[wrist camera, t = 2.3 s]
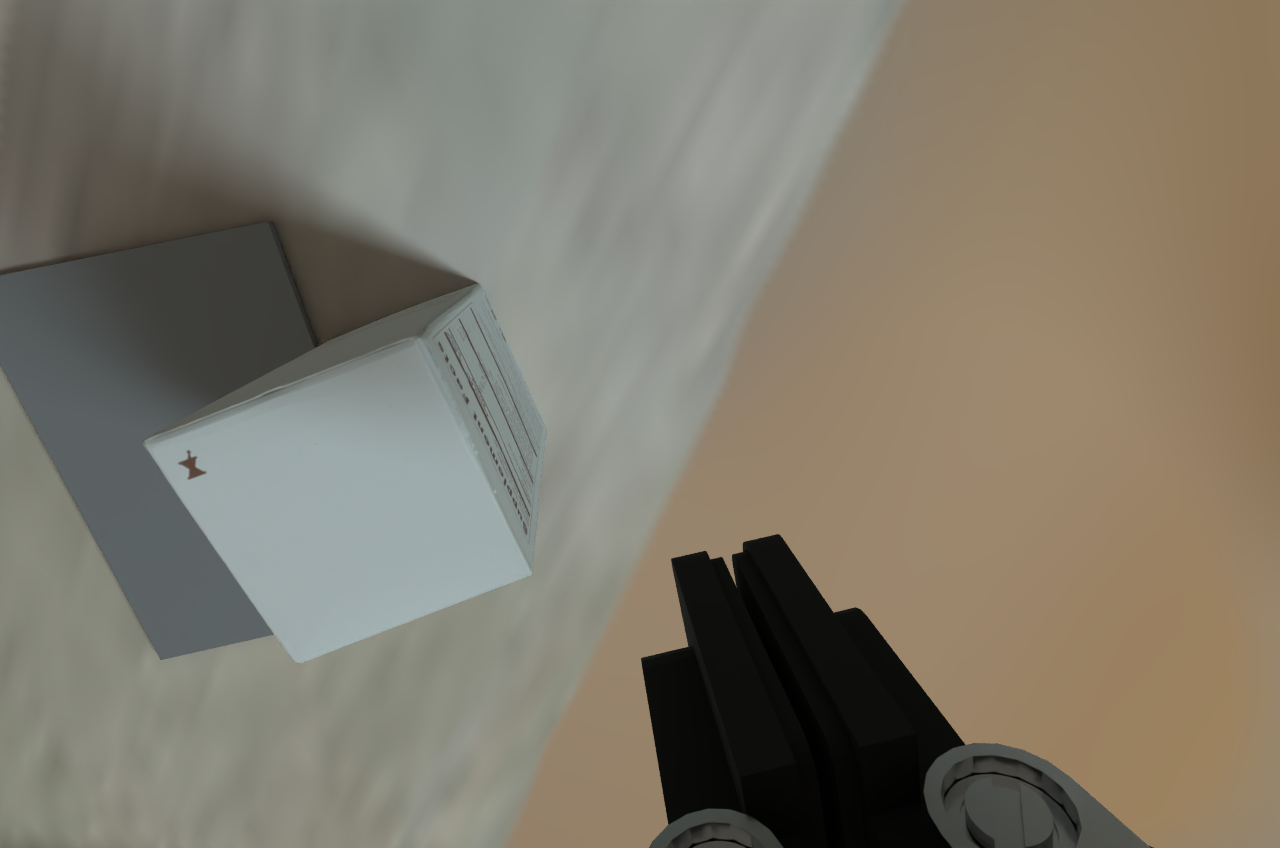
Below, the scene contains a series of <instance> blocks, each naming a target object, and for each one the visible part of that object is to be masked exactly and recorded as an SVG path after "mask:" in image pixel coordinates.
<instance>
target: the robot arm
mask: <svg viewBox="0 0 1280 848" xmlns="http://www.w3.org/2000/svg"><path fill="white" fill-rule="evenodd" d="M671 561H672V567H673V573H674V578H675V582H676V587H677V592H678V597H679V602H680V607H681V612H682V617H683V621H684V626H685V632H686V636H687V641H688V646H689V647H686V648H682V649H677V650H673V651H669V652H665V653H660V654H656V655H652V656H648V657H644V658H641V661H642V668H643V674H644V680H645V687H646V693H647V699H648V704H649V710H650V716H651V723H652V729H653V734H654V740H655V747H656V753H657V758H658V764H659V771H660V777H661V783H662V789H663V795H664V801H665V807H666V813H667V819H668V826H667V827H666V828H665V829H664V830H663V831H662V832H661V833H660V834H659V835H658V836H657V837H656V838H655V839H654V840H653V841H652V843H651V845H650V847H649V848H1153V847H1150V846H1148V845H1147V844H1146V843H1145V842H1143V841H1142V840H1141V839H1140V838H1139V837H1138V836H1137V835H1136V834H1134V833H1133V832H1132V831H1131V830H1130V829H1129V828H1127V827H1126V826H1125V825H1124V824H1123V823H1122V822H1121V821H1120V820H1119V819H1117V818H1116V817H1115V816H1114V815H1113V814H1112V813H1111V812H1109V811H1108V810H1107V809H1106V808H1105V807H1104V806H1103V805H1101V804H1100V803H1099V802H1098V801H1097V800H1096V799H1095V798H1094V797H1092V796H1091V795H1090V794H1089V793H1088V792H1087V791H1086V790H1085V789H1083V788H1082V787H1081V786H1080V785H1079V784H1078V783H1076V782H1075V781H1074V780H1073V779H1072V778H1071V777H1070V776H1068V775H1067V774H1065V773H1064V772H1063V771H1061V770H1060V769H1058V768H1057V767H1056V766H1054V765H1053V764H1051V763H1050V762H1048V761H1046V760H1044V759H1042V758H1040V757H1038V756H1035V755H1033V754H1031V753H1029V752H1027V751H1025V750H1022V749H1018V748H1013V747H1009V746H1005V745H1001V744H988V743H987V744H986V743H973V744H969V745H965V744H964V742H963V741H962V740H961V739H960V737H959V736H958V734H957V733H956V732H955V731H954V729H953V728H952V727H951V725H950V724H949V723H948V721H947V720H946V719H945V717H944V716H943V715H942V714H941V712H940V711H939V710H938V708H937V707H936V706H935V705H934V703H933V702H932V700H931V699H930V698H929V697H928V696H927V694H926V693H925V692H924V690H923V689H922V687H921V686H920V685H919V684H918V682H917V681H916V680H915V678H914V677H913V676H912V674H911V673H910V672H909V671H908V669H907V668H906V667H905V665H904V664H903V663H902V661H901V660H900V659H899V658H898V656H897V655H896V654H895V652H894V651H893V650H892V648H891V647H890V646H889V644H888V643H887V642H886V640H885V639H884V638H883V636H882V635H881V634H880V633H879V631H878V630H877V629H876V628H875V626H874V625H873V623H872V622H871V621H870V620H869V618H868V617H867V616H866V615H865V614H864V613H863V611H862V610H861V609H858V608H851V609H847V610H843V611H839V612H835V613H833V611H832V610H831V608H830V607H829V605H828V604H827V602H826V601H825V599H824V598H823V597H822V595H821V594H820V592H819V591H818V589H817V588H816V586H815V585H814V583H813V582H812V580H811V579H810V578H809V576H808V575H807V573H806V572H805V570H804V569H803V567H802V566H801V565H800V563H799V562H798V560H797V559H796V557H795V556H794V554H793V553H792V551H791V550H790V548H789V547H788V546H787V544H786V543H785V541H784V540H783V538H782V537H781V536H780V535H779V534H777V535H773V536H768V537H764V538H759V539H755V540H750V541H746V542H744V543H743V552H741V553H737V554H733V555H732V561H733V568H734V574H735V580H736V585H735V583H734V581H733V579H732V577H731V575H730V572H729V570H728V568H727V566H726V564H725V562H724V560H723V558H722V557H719V558H715V559H711V560H710V558H709V556H708V554H707V552H706V551H703V552H698V553H694V554H690V555H685V556H681V557H676V558H672V559H671ZM736 586H737V587H736Z"/></svg>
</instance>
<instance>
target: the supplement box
mask: <svg viewBox="0 0 1280 848" xmlns="http://www.w3.org/2000/svg"><path fill="white" fill-rule="evenodd" d="M545 440H546V427H545V425H544V423H543V421H542V419H541V417H540V415H539V413H538V410H537V408H536V406H535V404H534V402H533V400H532V397H531V395H530V393H529V391H528V388H527V386H526V384H525V382H524V380H523V377H522V375H521V373H520V371H519V368H518V366H517V364H516V362H515V359H514V357H513V355H512V353H511V350H510V348H509V346H508V344H507V341H506V339H505V337H504V335H503V333H502V330H501V328H500V326H499V324H498V321H497V319H496V317H495V315H494V312H493V310H492V308H491V306H490V304H489V301H488V299H487V297H486V295H485V293H484V290H483V288H482V286H481V285H480V284H474V285H471V286H468V287H465V288H462V289H459V290H457V291H454V292H451V293H448V294H445V295H443V296H440V297H437V298H434V299H431V300H429V301H426V302H423V303H420V304H418V305H415V306H412V307H410V308H407V309H404V310H402V311H399V312H397V313H394V314H392V315H389V316H387V317H384V318H382V319H379V320H377V321H374V322H372V323H370V324H367V325H365V326H362V327H360V328H357V329H355V330H353V331H350V332H348V333H346V334H343V335H341V336H339V337H336V338H334V339H331V340H328V341H327V342H325V343H324V344H322V345H320V346H318V347H316V348H314V349H312V350H310V351H309V352H307V353H305V354H303V355H301V356H299V357H298V358H296V359H294V360H292V361H290V362H288V363H286V364H284V365H282V366H280V367H278V368H277V369H275V370H273V371H271V372H269V373H267V374H265V375H264V376H262V377H260V378H258V379H256V380H254V381H252V382H250V383H248V384H247V385H245V386H243V387H241V388H239V389H237V390H235V391H233V392H231V393H229V394H228V395H226V396H224V397H222V398H220V399H218V400H216V401H215V402H213V403H211V404H209V405H207V406H205V407H203V408H201V409H199V410H198V411H196V412H194V413H192V414H190V415H188V416H186V417H184V418H183V419H181V420H179V421H177V422H175V423H173V424H171V425H170V426H168V427H166V428H164V429H162V430H160V431H158V432H156V433H154V434H152V435H150V436H149V437H147V438H145V439H144V441H143V446H144V447H145V448H146V450H147V451H148V453H149V454H150V455H151V457H152V458H153V459H154V461H155V462H156V464H157V465H158V466H159V468H160V470H161V471H162V473H163V474H164V476H165V478H166V479H167V481H168V482H169V484H170V485H171V486H172V488H173V489H174V491H175V492H176V494H177V495H178V497H179V498H180V500H181V501H182V503H183V504H184V506H185V507H186V508H187V510H188V511H189V513H190V514H191V516H192V517H193V518H194V520H195V521H196V523H197V524H198V526H199V527H200V528H201V530H202V531H203V533H204V534H205V536H206V537H207V539H208V540H209V542H210V543H211V544H212V546H213V547H214V549H215V550H216V552H217V553H218V555H219V556H220V557H221V559H222V560H223V562H224V563H225V564H226V566H227V567H228V569H229V570H230V572H231V573H232V575H233V576H234V578H235V579H236V580H237V582H238V583H239V585H240V586H241V588H242V589H243V591H244V592H245V593H246V595H247V596H248V598H249V599H250V601H251V602H252V603H253V605H254V606H255V608H256V609H257V611H258V612H259V613H260V615H261V616H262V618H263V619H264V621H265V622H266V624H267V625H268V627H269V628H270V629H271V631H272V632H273V634H274V636H275V637H276V638H277V640H278V641H279V642H280V644H281V645H282V647H283V648H284V649H285V651H286V652H287V653H288V654H289V656H290V657H291V658H292V659H293V660H294V661H295V662H296V663H302V662H305V661H308V660H311V659H313V658H316V657H318V656H321V655H323V654H326V653H328V652H331V651H334V650H336V649H339V648H342V647H344V646H347V645H349V644H352V643H355V642H357V641H360V640H362V639H365V638H368V637H370V636H373V635H376V634H378V633H381V632H384V631H386V630H389V629H391V628H394V627H397V626H399V625H402V624H404V623H407V622H410V621H412V620H415V619H417V618H420V617H423V616H425V615H428V614H430V613H433V612H436V611H438V610H441V609H443V608H446V607H449V606H451V605H454V604H456V603H459V602H462V601H464V600H467V599H470V598H472V597H475V596H478V595H480V594H483V593H485V592H488V591H491V590H493V589H496V588H499V587H501V586H504V585H506V584H509V583H512V582H514V581H517V580H520V579H522V578H525V577H528V576H530V575H531V574H532V568H533V557H534V547H535V538H536V528H537V518H538V507H539V494H540V487H541V477H542V468H543V458H544V450H545Z"/></svg>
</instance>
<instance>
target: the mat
mask: <svg viewBox="0 0 1280 848" xmlns="http://www.w3.org/2000/svg"><path fill="white" fill-rule="evenodd" d="M316 347H318V345H317V342H316V339H315V337H314V334H313V331H312V329H311V326H310V323H309V320H308V318H307V315H306V312H305V310H304V307H303V304H302V301H301V299H300V296H299V293H298V290H297V288H296V285H295V282H294V280H293V277H292V274H291V271H290V269H289V266H288V263H287V261H286V258H285V255H284V252H283V250H282V247H281V244H280V242H279V239H278V236H277V233H276V231H275V228H274V225H273V222H272V221H267V222H262V223H257V224H252V225H247V226H242V227H237V228H232V229H227V230H222V231H217V232H212V233H207V234H202V235H197V236H193V237H188V238H183V239H178V240H173V241H168V242H163V243H158V244H153V245H148V246H143V247H138V248H133V249H128V250H123V251H118V252H113V253H108V254H103V255H98V256H93V257H88V258H83V259H78V260H73V261H68V262H63V263H58V264H53V265H48V266H43V267H38V268H33V269H28V270H23V271H18V272H13V273H8V274H3V275H0V365H1V367H2V368H3V370H4V372H5V374H6V376H7V378H8V380H9V381H10V383H11V385H12V387H13V389H14V391H15V392H16V394H17V396H18V398H19V400H20V402H21V403H22V405H23V407H24V409H25V411H26V413H27V415H28V416H29V418H30V420H31V422H32V424H33V426H34V427H35V429H36V431H37V433H38V435H39V437H40V438H41V440H42V442H43V444H44V446H45V448H46V450H47V451H48V453H49V455H50V457H51V459H52V461H53V462H54V464H55V466H56V468H57V470H58V472H59V474H60V475H61V477H62V479H63V481H64V483H65V485H66V486H67V488H68V490H69V492H70V494H71V496H72V497H73V499H74V501H75V503H76V505H77V507H78V509H79V510H80V512H81V514H82V516H83V518H84V520H85V521H86V523H87V525H88V527H89V529H90V531H91V533H92V534H93V536H94V538H95V540H96V542H97V544H98V545H99V547H100V549H101V551H102V553H103V555H104V556H105V558H106V560H107V562H108V564H109V566H110V568H111V569H112V571H113V573H114V575H115V577H116V579H117V580H118V582H119V584H120V586H121V588H122V590H123V591H124V593H125V595H126V597H127V599H128V601H129V603H130V604H131V606H132V608H133V610H134V612H135V614H136V615H137V617H138V619H139V621H140V623H141V625H142V627H143V628H144V630H145V632H146V634H147V636H148V638H149V639H150V641H151V643H152V645H153V647H154V649H155V650H156V652H157V654H158V656H159V658H160V660H163V659H167V658H171V657H176V656H180V655H185V654H189V653H194V652H198V651H203V650H207V649H212V648H216V647H220V646H225V645H229V644H234V643H238V642H243V641H247V640H252V639H256V638H260V637H265V636H269V635H274V634H273V632H272V631H271V629H270V628H269V627H268V625H267V624H266V622H265V621H264V619H263V618H262V616H261V615H260V613H259V612H258V611H257V609H256V608H255V606H254V605H253V603H252V602H251V601H250V599H249V598H248V596H247V595H246V593H245V592H244V591H243V589H242V588H241V586H240V585H239V583H238V582H237V580H236V579H235V578H234V576H233V575H232V573H231V572H230V570H229V569H228V567H227V566H226V564H225V563H224V562H223V560H222V559H221V557H220V556H219V555H218V553H217V552H216V550H215V549H214V547H213V546H212V544H211V543H210V542H209V540H208V539H207V537H206V536H205V534H204V533H203V531H202V530H201V528H200V527H199V526H198V524H197V523H196V521H195V520H194V518H193V517H192V516H191V514H190V513H189V511H188V510H187V508H186V507H185V506H184V504H183V503H182V501H181V500H180V498H179V497H178V495H177V494H176V492H175V491H174V489H173V488H172V486H171V485H170V484H169V482H168V481H167V479H166V478H165V476H164V474H163V473H162V471H161V470H160V468H159V466H158V465H157V464H156V462H155V461H154V459H153V458H152V457H151V455H150V454H149V453H148V451H147V450H146V448H145V447H144V446H143V441H144V439H145V438H147V437H149V436H150V435H152V434H154V433H156V432H158V431H160V430H162V429H164V428H166V427H168V426H170V425H171V424H173V423H175V422H177V421H179V420H181V419H183V418H184V417H186V416H188V415H190V414H192V413H194V412H196V411H198V410H199V409H201V408H203V407H205V406H207V405H209V404H211V403H213V402H215V401H216V400H218V399H220V398H222V397H224V396H226V395H228V394H229V393H231V392H233V391H235V390H237V389H239V388H241V387H243V386H245V385H247V384H248V383H250V382H252V381H254V380H256V379H258V378H260V377H262V376H264V375H265V374H267V373H269V372H271V371H273V370H275V369H277V368H278V367H280V366H282V365H284V364H286V363H288V362H290V361H292V360H294V359H296V358H298V357H299V356H301V355H303V354H305V353H307V352H309V351H310V350H312V349H314V348H316Z"/></svg>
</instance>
